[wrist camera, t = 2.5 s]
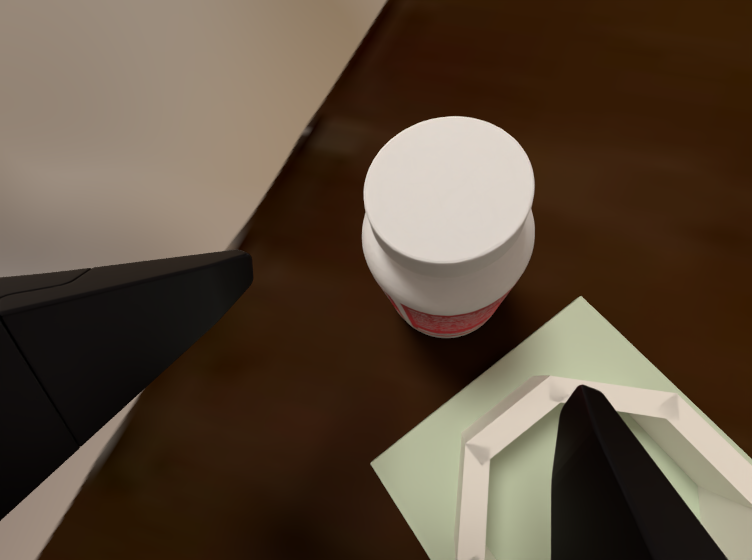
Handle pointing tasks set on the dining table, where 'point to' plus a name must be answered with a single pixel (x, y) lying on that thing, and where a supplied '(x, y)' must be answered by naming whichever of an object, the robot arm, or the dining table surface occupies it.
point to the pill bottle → (448, 222)
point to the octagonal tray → (537, 446)
